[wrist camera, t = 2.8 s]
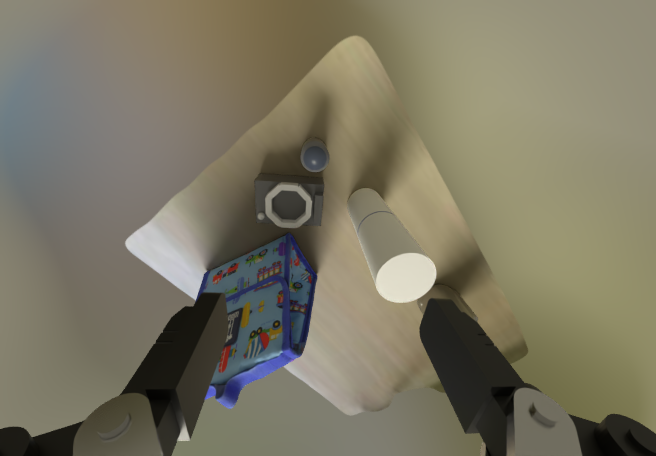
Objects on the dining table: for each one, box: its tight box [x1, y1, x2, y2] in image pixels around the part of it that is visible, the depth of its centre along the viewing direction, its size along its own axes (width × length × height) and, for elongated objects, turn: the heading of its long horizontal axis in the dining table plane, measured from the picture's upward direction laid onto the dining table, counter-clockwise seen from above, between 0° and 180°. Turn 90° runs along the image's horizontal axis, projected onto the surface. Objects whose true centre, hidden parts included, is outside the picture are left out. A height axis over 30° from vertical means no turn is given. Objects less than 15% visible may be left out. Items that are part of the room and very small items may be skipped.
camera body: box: [255, 173, 324, 228], centre depth 47 cm, size 12×8×7 cm, turn 85°
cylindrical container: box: [347, 188, 436, 303], centre depth 41 cm, size 7×7×25 cm
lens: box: [301, 138, 329, 172], centre depth 43 cm, size 4×4×9 cm
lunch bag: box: [195, 233, 317, 409], centre depth 45 cm, size 22×14×29 cm, turn 115°
